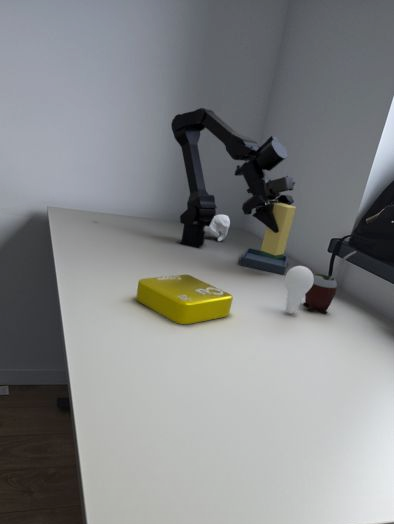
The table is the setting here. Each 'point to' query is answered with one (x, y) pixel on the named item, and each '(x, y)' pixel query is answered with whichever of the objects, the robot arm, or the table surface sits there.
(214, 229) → the white irregular rounded piece
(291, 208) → the sponge
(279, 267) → the tray
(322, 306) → the mate gourd
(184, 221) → the robot arm
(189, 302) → the element tile
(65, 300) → the table surface
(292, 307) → the lightbulb
